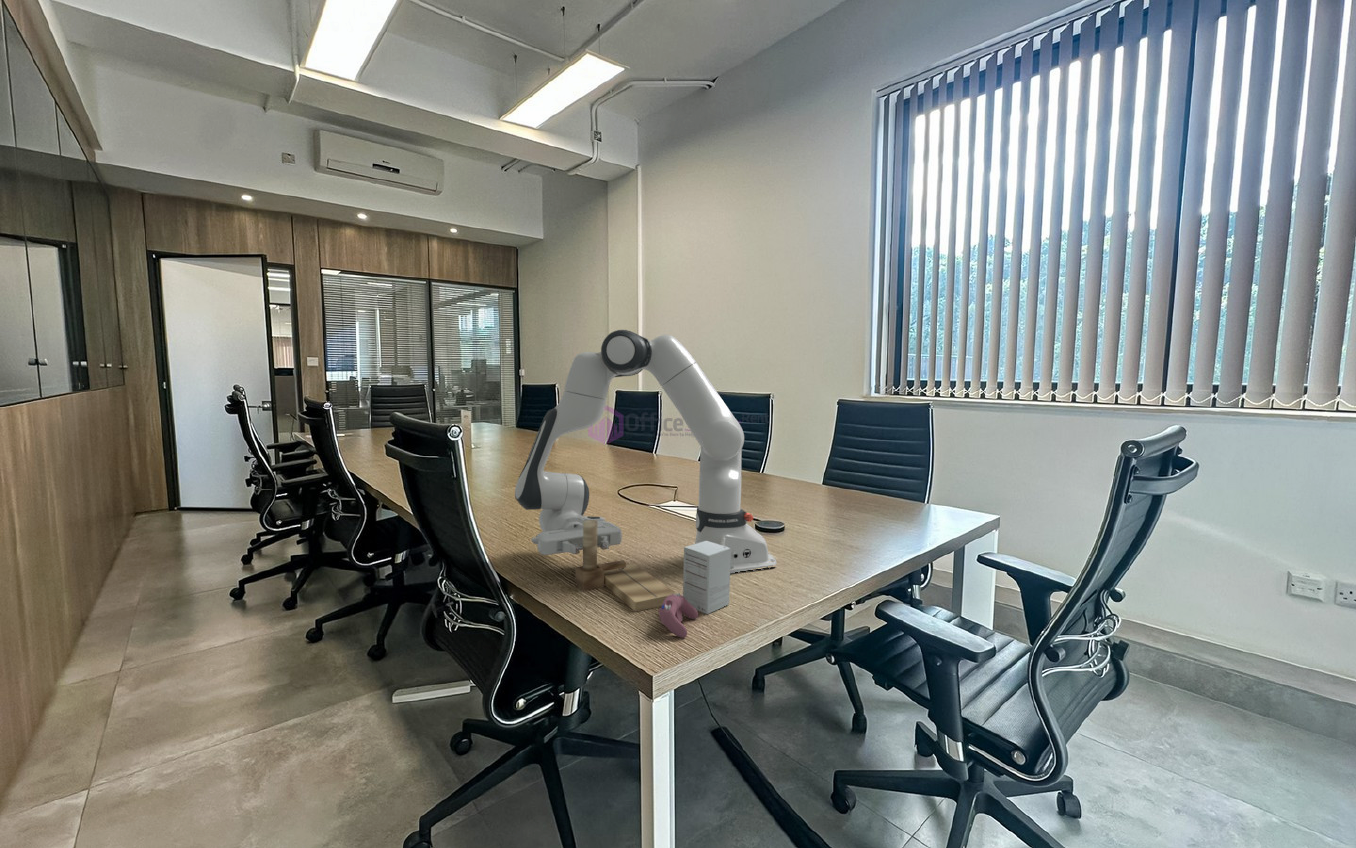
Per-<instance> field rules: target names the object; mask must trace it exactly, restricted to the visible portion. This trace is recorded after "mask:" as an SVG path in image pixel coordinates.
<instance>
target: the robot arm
mask: <svg viewBox="0 0 1356 848" xmlns="http://www.w3.org/2000/svg"><path fill="white" fill-rule="evenodd" d="M643 370H645V371H648V372H650V374H651V375H652V376H653V377H654V378H655V379H656V381H657V382H658V384H659V385H660V387H661V388H662V389H663V391H664V393H666V395H667V397H668V398H669V400H670V401H671V403H672V404H673V405H674V407H675V408H676V410H677V412H678V413H679V414H680V416H681V417H682V419H683V420H684V422H685V424H686V425H687V427H688V429H689V430H690V432H691V433H692V435H693V436H694V438H695V440H696V441H697V443H698V444H699V446H700V454H699V460H700V461H699V477H698V479H699V480H698V481H699V482H698V507H697V508H696V513H695V528H696V535H695V542H694V544H697V543H700V542H703V541H709V542H712V543H716V544H719V545H722V546H726V547H728V548H731V557H730V574H735V572H738V573H741V572H740V571H746V570H751V569H756V568H762V567H768V566H773V565H776V564H777V560H776V557H774V556H773V555H772V553H770V552H769V551H768V550H769V549H768V544H767V540H766V539H765V538H764V536H762V535H761V534H760V533H759V532H758V531H756V529H754V528H753V527H751V526H750V525H749V524H748V523H751V522H752V521H753V520H754V515H753V514H751V513H750V512H747V511H746V510H744V509H742V508H741V506H742V505H741V504H742V503H741V502H742V501H741V500H742V452H743V451H742V450H743V446H744V443H745V434H744V431H743V428H742V426H741V424H740V423H739V420H737V418H735V416H734V414H733V413H732V412H731V410H730V409H729V407H728V406H727V404H726V403H725V402H724V400H723V399H722V397H721V396H720V394H719V392H718V391H717V390H716V388H715V387H714V385H713V384H712V383H711V381H710V379H709V378H708V376H707V375H706V373H704V371H703V370H702V368H701V366H700V365H699V364H698V362H697V361H696V360H695V358H694V356H693V355H691V352H689V350H687V348H686V347H685V345H683V344H682V343H681V342H680V341H679V340H678V339H677V338H676V337H675V336H674V335H671V334H663V335H659V336H657V337H655V338H653V339H652V340H649V339H648V338H646V337H644V336H641V335H639V334H638V333H636V332H634V331H631V330H627V329H618V330H614V331H612V332H610V333H609V334H607V336H606V337H605V338H604V339H603V342H602V344H601V347H600V352H593V351H584V352H580V353H579V354H577V355H576V356H575V357H574V358H573V361H572V363H571V365H570V369H569V371H568V374H567V377H566V381H565V384H564V385H565V386H564V390H563V394H562V397H561V399H560V401H559V402H558V404H557V405H556V406H555V407H554V408H552V409H549V410H548V411H547V412H546V414H545V415H544V417H543V419H542V421H541V424H540V426H539V429H538V431H537V432H536V433H537V434H536V436H535V438H534V440H533V444H532V446H531V449H530V451H529V454H528V457H527V459H526V462H525V465H524V467H523V469H522V471H521V473H520V474H519V477H518V478H517V482H516V484H515V490H514V498H515V500H516V501H517V503H518V504H519V505H520V506H521V507H522V508H524V510H526V511H527V510H528V511H529V510H530V511H531V510H537V511H538V510H541V511H540V513H539V514H538V524H539V527H540V529H541V532H539V533H538V534H537V535H536V536H535V537H531V539H530V540H531V542H532V543H533V544H535V545H536V546H537V550H538V552H539V554H541V555H542V556H549V555H550V556H551V555H555V554H562V553H563V554H564V553H571V554H572V555H577V554H580V551H583V522H584V521H586V520H596V521H597V522H598V523H597V549H598V548H599V549H600V550H602V551H605V550H609V549H610V547H611V546H618V545H620V544H621V543H622V539H623V534H622V533H623V532H622V529H621V528H620V527H618V526H617V525H616V524H613V523H612V522H610V521H606V519H605V517H603V516H588V515H587V516H586V515H584V514H585V513H586V511H587V508H588V505H589V502H590V488H589V485H588V483H587V482H586V479H585V478H584V477H583V476H582V475H580V474H575V473H566V472H555V471H554V472H553V471H552V472H551V471H545V468H546V464H547V462H548V459H549V457H550V454H551V452H552V449H553V445H554V444H555V442H556V441H557V439H559V438H560V437H561V436H563V435H566V434H569V433H572V432H577V431H582V430H585V429H587V428H590V427H592V426H593V425H595V424H596V423H598V422H599V421H600V420H601V418H602V416H603V415H604V411H605V409H606V408H605V406H606V403H607V402H606V401H607V397H608V392H609V388H610V384H611V382H612V380H613V379H614V378H620V377H632V376H636V375H637V374H639V373H641V372H642V371H643ZM747 522H748V523H747ZM772 561H773V562H772ZM776 566H777V565H776ZM746 572H747V571H746Z"/></svg>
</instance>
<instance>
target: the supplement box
mask: <svg viewBox="0 0 1356 848" xmlns="http://www.w3.org/2000/svg"><path fill="white" fill-rule="evenodd" d="M730 557H731V548H728V547H726V546H722V545H719V544H716V543H712V542H709V541H703V542H700V543H697V544H695V543H694V544H691V545H687V546H684V547H683V569H682V570H683V572H682V573H683V575H682V577H683V580H682V581H683V582H682V596H683V597H684V598H685V599H686V600H687V601H688V602H689V603H690V604H691V605H692V606H693V607H694V608H695V609H696V610H697V612H698V611H699V612H701V613H703V614H706V615H708V614H711V613H713V612H715V611H717V610H719V609H722V608H725V607H726V605H727V606H729V605H730V589H731V588H730V587H731V585H730V583H731V573H730ZM728 604H729V605H728ZM724 606H725V607H724Z"/></svg>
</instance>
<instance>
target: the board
mask: <svg viewBox="0 0 1356 848" xmlns="http://www.w3.org/2000/svg"><path fill="white" fill-rule="evenodd" d="M604 587H606V588H607V589H609V591H611V592H612V593H613V594H614V595H615V596H616V597H617V598H619V599H620V600H621V601H622V602H623V603H625V604H626V605H627V606H628V607H629V608H630V609H631V610H633V611H634V612H635V613H637V612H641V611H645V610H650V609H655V608H661V607H662V604H663V601H664V600H665V598H666V597H667V596H669V595H672V594H678V593H677V592H676V591H674V589H671V588H670V587H669V586H667V585H666V584H665V583H663V582H661V581H660V580H659V579H657V578H656V577H654V576H653V575H651V574H650V573H648V572H647V571H646V570H644V569H643V568H641V567H639V566H638V565H637V564H636V563H634V562H628V563H627V562H626V567H625V568H624V569H621V568H619V569H613V570H607V571H604Z"/></svg>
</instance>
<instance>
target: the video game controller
mask: <svg viewBox="0 0 1356 848" xmlns="http://www.w3.org/2000/svg"><path fill="white" fill-rule="evenodd" d="M682 614H683V615H684V616H686V617H687V618H689V619H691V620H697V618H698V617H699V613H698V610H696V609H695V608H694V607H693V606H692V605H691V604H690V603H689V602H688V601H687V600H686V599H685V598H684V597H683V594H681V593H680V592H678V593H677V594H672V595H669V596H667V597H666V598H665V600H664V601H663V604H662V606H660V607H659V610H658V616H659V619H660V622H661V623H662V625H663V626H665V627H666V628H667V629H668V630H669V631H670V632H671V633H672V634H673V635H674V636H676V637H678V638H681V639H685V638H686V637H687V636H688V631H687V628H686V627H685V625H684V624H683V623H682V621H683V615H682Z"/></svg>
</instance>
